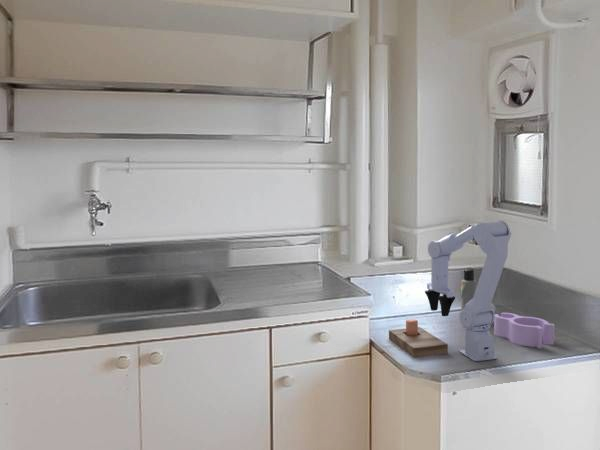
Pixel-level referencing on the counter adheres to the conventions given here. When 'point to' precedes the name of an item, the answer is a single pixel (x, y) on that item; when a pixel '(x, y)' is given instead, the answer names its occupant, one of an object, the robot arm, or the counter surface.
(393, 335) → the board
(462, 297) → the lotion bottle
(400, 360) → the counter surface
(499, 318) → the clip
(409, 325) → the pin
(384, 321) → the counter surface
